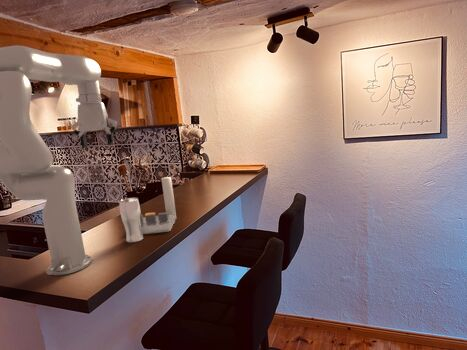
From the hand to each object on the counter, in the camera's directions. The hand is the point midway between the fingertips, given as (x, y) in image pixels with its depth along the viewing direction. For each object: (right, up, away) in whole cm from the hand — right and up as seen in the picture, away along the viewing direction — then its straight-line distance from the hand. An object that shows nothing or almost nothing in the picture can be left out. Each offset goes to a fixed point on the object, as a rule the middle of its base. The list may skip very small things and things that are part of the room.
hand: (97, 146), depth 129 cm
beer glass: (+15, -35, -4) cm, 38 cm away
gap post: (+25, -30, +16) cm, 42 cm away
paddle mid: (+19, -29, +6) cm, 35 cm away
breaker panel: (+19, -32, +7) cm, 38 cm away
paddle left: (+14, -30, +6) cm, 33 cm away
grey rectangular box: (+24, -29, +6) cm, 38 cm away
